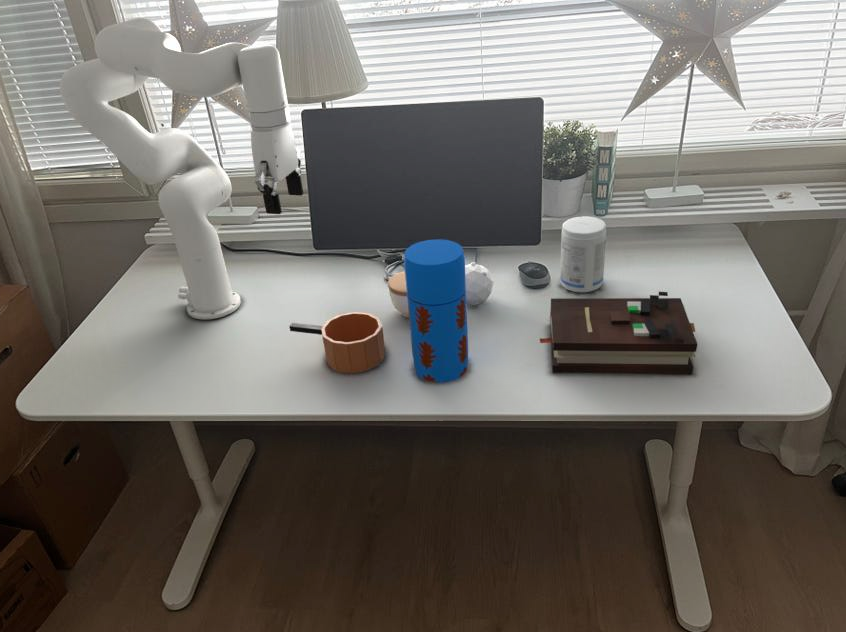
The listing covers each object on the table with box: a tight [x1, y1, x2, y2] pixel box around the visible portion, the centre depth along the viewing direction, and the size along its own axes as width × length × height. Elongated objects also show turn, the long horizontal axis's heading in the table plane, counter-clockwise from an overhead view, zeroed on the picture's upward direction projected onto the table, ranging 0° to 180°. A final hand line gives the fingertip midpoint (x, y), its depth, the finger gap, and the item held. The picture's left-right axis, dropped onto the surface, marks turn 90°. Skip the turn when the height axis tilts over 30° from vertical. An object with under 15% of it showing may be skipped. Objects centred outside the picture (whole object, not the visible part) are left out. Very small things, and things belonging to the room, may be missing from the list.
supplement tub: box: [559, 216, 607, 293], centre depth 159 cm, size 10×10×15 cm
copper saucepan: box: [289, 311, 386, 374], centre depth 145 cm, size 20×12×7 cm, turn 71°
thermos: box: [403, 238, 469, 384], centre depth 133 cm, size 11×11×25 cm
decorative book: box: [539, 291, 698, 376], centre depth 138 cm, size 19×8×30 cm
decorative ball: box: [465, 261, 495, 306], centre depth 160 cm, size 9×10×12 cm
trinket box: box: [387, 270, 409, 319], centre depth 157 cm, size 11×11×9 cm
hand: (285, 203), depth 143 cm, fingers open, 9 cm apart
